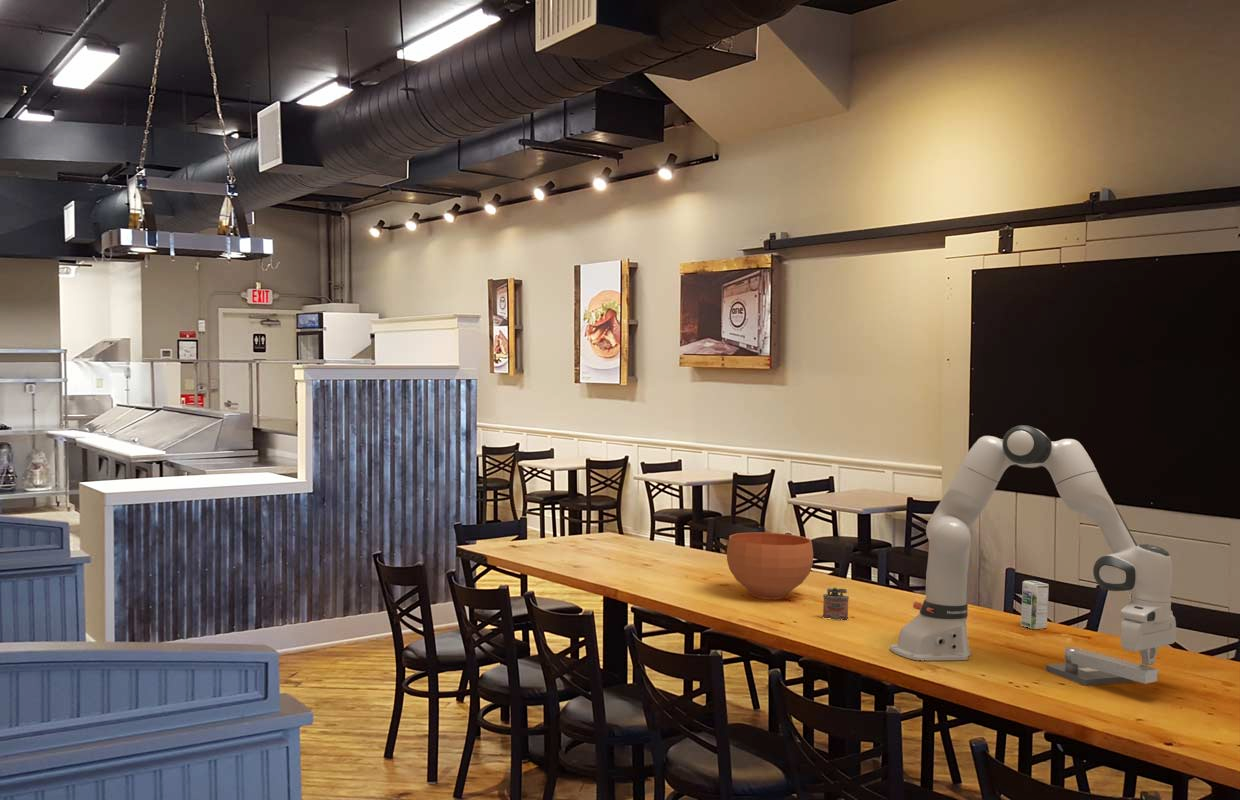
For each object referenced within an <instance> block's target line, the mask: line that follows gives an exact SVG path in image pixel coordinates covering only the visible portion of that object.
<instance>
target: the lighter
mask: <svg viewBox="0 0 1240 800" xmlns="http://www.w3.org/2000/svg"><path fill="white" fill-rule="evenodd" d="M826 590H827V591H826V592H827V593H826V594H825V593H824V594H823V595H822V597H823V604H822V605H823V608H822V609H823V610H822V612H823V613H822V618H823V617H824V618H831V619H840V620H839V621H841V619H842V620H847V619H848V620H849V616H848V614H849V600H850V597H849V596H848V595H844V594H847V592H848V590H847V589H846V588H837V587H835V586H834V587H833V588H830V587H829V588H826ZM848 620H847V621H848Z"/></svg>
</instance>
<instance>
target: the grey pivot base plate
mask: <svg viewBox="0 0 1240 800" xmlns="http://www.w3.org/2000/svg"><path fill="white" fill-rule="evenodd" d="M1045 671H1046V672H1049V673H1051V674H1054V675H1055V676H1056V675H1057V676H1058V677H1062V678H1064V679H1067V680H1070V681H1072V682H1075V683H1078V684H1080V685H1083V686H1086V687H1089V686H1098V685H1108V684H1119V683H1130V682H1131V681H1132V682H1135V681H1134V680H1130V679H1127V678H1123V677H1120V676H1116V675H1112V674H1109V673H1105V672H1102V671H1098V670H1095V669H1091V668H1087V667H1084V666H1080V665H1077V664H1073V663H1071V662H1069V661H1066V660H1065V663H1054V664H1052V663H1051V664H1045ZM1157 678H1158V679H1159V674H1158V675H1157ZM1088 685H1089V686H1088Z"/></svg>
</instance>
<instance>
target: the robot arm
mask: <svg viewBox="0 0 1240 800" xmlns="http://www.w3.org/2000/svg"><path fill="white" fill-rule="evenodd" d="M1010 466H1013V467H1019V468H1026V469H1039V468H1041V467H1043V468H1045V469H1046V470H1047V471H1048V472H1049V474H1050V476H1051V479H1052V481H1053V483H1054V485H1055V488H1056V491H1057V493H1058V495H1059V497H1060V498H1061V500H1062V502H1063V503H1064V504H1065V506H1066V507H1067V508H1068V509H1069V510H1072V511H1074V512H1076V513H1078V514H1080V515H1083V516H1085V517H1087V518H1089V519H1090V520H1092V521H1093V522H1094V523H1095V524H1096V525H1097V526H1098V528H1099V529H1100V531H1101V533H1102V535H1103V537H1104V539H1105V541H1106V542H1107V544H1108V546H1109V548H1110V549H1111V550H1110V551H1111V552H1112V553H1110V554H1109V553H1108V554H1105V555H1102V556H1100V557H1099V558H1098V559H1097V560H1096V561H1095V562H1094V565H1093V568H1092V572H1093V577H1094V580H1095V582H1096V583H1097V584H1098V586H1099V587H1101V588H1103V589H1104V590H1107V591H1110V592H1126V591H1127V592H1130V593H1131V600H1130V601H1129V602H1128V604H1127V605H1125V606H1124V607H1123V608H1122V609H1121V610H1120V618H1122V621H1121V623H1120V645H1121V648H1122V649H1123V650H1126V651H1130V652H1134V653H1135V652H1136V653H1137V652H1139V654H1140V657H1141V665H1145V666H1151V665H1155V663H1156V656H1157V653H1158V652H1159V648H1160V647H1163V646H1168V645H1173V644H1174V643H1175V642H1176V639H1177V622H1176V617H1175V616H1174V614H1173V611H1172V609H1171V606H1172V598H1171V587H1172V584H1173V564H1172V563H1173V562H1172V558H1171V554H1170V553H1169V552H1168V551H1167V550H1165V549H1164V548H1162V547H1159V546H1157V545H1152V544H1148V543H1147V544H1145V543H1141V544H1137V542H1136V540H1135V538H1134V537H1133V534H1132V533H1131V531H1130V529H1129V527H1128V525H1127V524H1126V522H1125V520H1124V518H1123V515H1122V514H1121V513H1120V511H1119V509H1118V507H1117V506H1116V504H1115V502H1114V501H1113V500H1112V498H1111V496H1110V495H1109V492H1108V491H1107V488H1106V487H1105V485H1104V483H1103V481H1102V479H1101V477H1100V474H1099V472H1098V471H1097V468H1096V467H1095V464H1094V462H1093V460H1092V459H1091V457H1090V456H1089V454H1088V452H1087V451H1086V449H1085V448H1084V446H1083V445H1082V444H1081V443H1080V441H1078V440H1076V439H1073V438H1063V439H1060V440H1056V441H1051V439H1050V438H1049V437H1048V436H1047V435H1046V434H1045V433H1044V432H1043V431H1042V430H1040V429H1038V428H1035V427H1033V426H1030V425H1025V424H1024V425H1023V424H1022V425H1021V424H1020V425H1016V426H1014V427H1011V428H1010V429H1008V431H1006V433H1005V434H1004V436H1003V439H1002V438H998V437H997V436H991V435H983V436H981V437H979V438H978V439H977V440H976V441H975V443H973V445H972V446H971V448H970V449H969V450H968V452H967V453H966V455H965V457H964V459H963V460H962V462H961V464H960V466H959V468H958V470H957V472H956V474H955V475H954V478H953V479H952V481H951V483H950V486H948V489H947V490H946V492H945V494H944V495H943V497H942V498H941V500H940V501H939V503H938V505H937V506H936V508H935V509H934V511H933V513H932V515H931V517H930V518H929V520H928V522H927V524H926V528H925V534H926V538H927V539H928V555H927V556H928V557H927V566H926V573H925V574H926V575H925V577H926V579H925V599H924V600H923V603H921V602H918V601H914V602H912V607H913V609H914V610H919V614H917V615H916V616H915V617H914V618H913V619H912V620H910V621H909V622H907V624H905V625H904V626H903V627H901V629H900V631H899V634H898V639H897V643H893V644H890V645H889V650H890V651H891V652H892V651H893V652H892V653H894V654H896V655H898V656H900V657H904V658H907V659H910V660H914V661H919V660H921V661H924V660H925V661H926V662H927V661H967V660H969V656H971V650H970V646H969V645H970V644H969V641H968V640H969V639H968V631H967V630H968V629H967V618H968V614H969V612H968V611H969V610H968V609H969V607H968V604H967V592H968V589H967V587H968V573H969V572H968V571H969V564H970V557H971V556H970V555H971V554H970V553H971V541H972V534H971V531H970V530H971V528H972V527H973V525H974V524H975V522H976V521H977V519H978V518H979V517H980V515H981V514H982V512H983V511H984V510H985V509H986V507H987V506H988V503H989V501H990V499H991V497H992V495H994V492H995V490H996V489H997V487H998V484H999V482H1000V480H1001V478H1002V477H1003V475H1004V473H1005V472H1006V470H1007V469H1008V468H1009V467H1010ZM921 661H920V662H921Z"/></svg>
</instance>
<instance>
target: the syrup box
mask: <svg viewBox="0 0 1240 800" xmlns="http://www.w3.org/2000/svg"><path fill="white" fill-rule="evenodd" d="M1049 586H1050V585H1049V583H1044V582H1041V581H1037V580H1024V581H1022V589H1021V590H1022V593H1021V594H1022V595H1021V611H1020V612H1021V614H1020V627H1022V626H1024V627H1023V628H1026V627H1028V628H1027V629H1029V628H1030V629H1029V630H1032V629H1039V628H1047V629H1048V627H1047V626H1048V609H1049V606H1048V605H1049V588H1050V587H1049Z"/></svg>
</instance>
